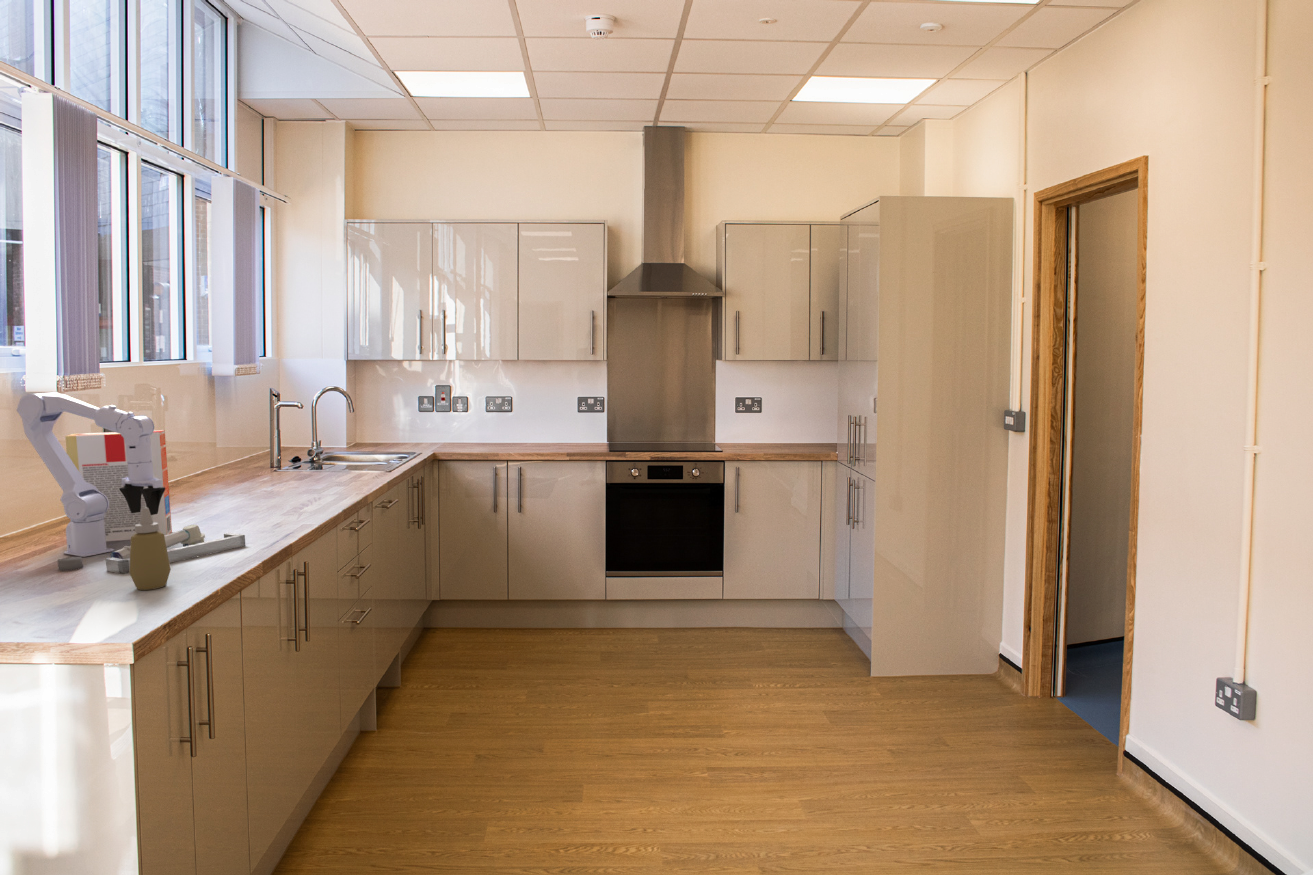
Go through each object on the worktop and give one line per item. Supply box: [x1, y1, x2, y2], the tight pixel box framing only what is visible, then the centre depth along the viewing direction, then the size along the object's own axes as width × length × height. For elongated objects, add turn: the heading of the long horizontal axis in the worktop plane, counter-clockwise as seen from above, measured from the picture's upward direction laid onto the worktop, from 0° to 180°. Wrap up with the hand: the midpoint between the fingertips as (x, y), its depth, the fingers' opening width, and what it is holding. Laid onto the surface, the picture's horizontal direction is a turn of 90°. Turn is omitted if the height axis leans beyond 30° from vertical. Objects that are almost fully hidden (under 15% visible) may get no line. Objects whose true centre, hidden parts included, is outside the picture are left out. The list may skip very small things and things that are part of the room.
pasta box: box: [65, 429, 173, 542], centre depth 256 cm, size 23×8×30 cm, turn 109°
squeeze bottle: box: [129, 508, 172, 591], centre depth 201 cm, size 8×8×18 cm
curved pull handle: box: [105, 532, 246, 575], centre depth 230 cm, size 7×33×3 cm, turn 151°
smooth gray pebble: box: [57, 556, 84, 572], centre depth 221 cm, size 5×5×2 cm
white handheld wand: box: [109, 524, 206, 559], centre depth 234 cm, size 5×7×25 cm
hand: (144, 513), depth 236 cm, fingers open, 7 cm apart
